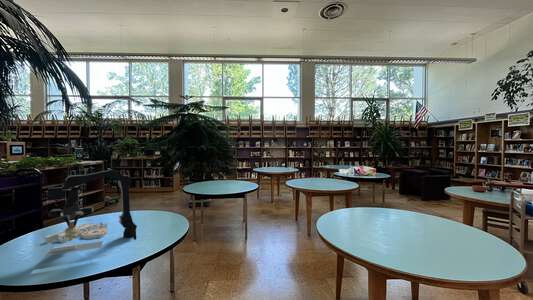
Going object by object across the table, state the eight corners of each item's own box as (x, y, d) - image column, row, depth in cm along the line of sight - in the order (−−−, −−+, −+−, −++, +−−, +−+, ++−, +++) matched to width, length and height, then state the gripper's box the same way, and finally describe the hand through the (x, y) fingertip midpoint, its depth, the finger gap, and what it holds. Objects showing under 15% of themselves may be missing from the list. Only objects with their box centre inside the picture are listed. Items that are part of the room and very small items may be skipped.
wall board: (103, 243, 144) (103, 237, 144) (100, 249, 135) (100, 243, 135) (51, 251, 134) (51, 245, 133) (44, 259, 125) (44, 252, 125)
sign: (89, 221, 175) (125, 224, 168) (89, 227, 175) (125, 229, 169) (43, 237, 145) (84, 241, 139) (43, 244, 145) (85, 248, 139)
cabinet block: (79, 234, 137) (79, 220, 137) (76, 237, 132) (76, 223, 132) (67, 235, 135) (67, 221, 135) (64, 239, 130) (64, 224, 129)
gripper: (44, 203, 122) (44, 234, 122) (90, 200, 130) (90, 229, 130) (52, 199, 132) (51, 227, 132) (93, 196, 140) (93, 223, 140)
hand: (72, 226), depth 133 cm, fingers closed on cabinet block
